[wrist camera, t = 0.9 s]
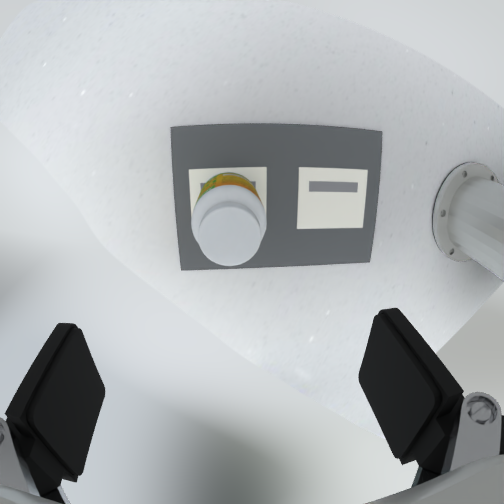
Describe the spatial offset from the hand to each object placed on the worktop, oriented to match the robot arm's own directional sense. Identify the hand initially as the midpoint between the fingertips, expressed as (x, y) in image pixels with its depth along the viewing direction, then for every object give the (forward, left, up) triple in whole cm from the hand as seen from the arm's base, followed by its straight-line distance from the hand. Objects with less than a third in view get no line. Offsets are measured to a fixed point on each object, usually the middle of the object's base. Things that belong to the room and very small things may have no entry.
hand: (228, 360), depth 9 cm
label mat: (-5, 0, -21) cm, 21 cm away
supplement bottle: (0, 0, -21) cm, 21 cm away
